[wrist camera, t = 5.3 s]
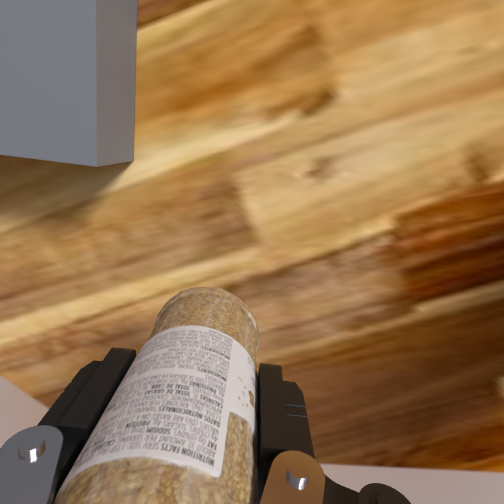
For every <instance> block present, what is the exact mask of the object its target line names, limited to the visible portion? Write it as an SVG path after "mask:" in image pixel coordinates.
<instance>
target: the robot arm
mask: <svg viewBox="0 0 504 504" xmlns="http://www.w3.org/2000/svg"><path fill="white" fill-rule="evenodd" d="M135 357H136V351H135V350H133V349H124V348H114V347H113V348H112V349H111V350H110V351H109V353H108V354H107V355H106V357H105V358H104V360H103V361H93V362H91V363H89V364H88V365H86V366H85V367H83V368H82V369H80V371H79V372H78V373H77V374H76V376H75V377H74V378H73V380H72V382H71V383H70V384H69V385H68V386H67V387H66V389H65V391H64V392H63V393H62V394H61V395H60V396H59V398H58V399H57V400H56V402H55V403H54V404H53V405H52V407H51V408H50V409H49V411H48V412H47V413H46V415H45V416H44V417H43V418H42V420H41V421H40V423H39V424H38V425H37V426H34V427H30V428H27V429H25V430H22V431H20V432H18V433H17V434H15V435H14V436H12V437H11V438H10V439H8V440H7V441H6V442H5V444H4V445H3V446H2V448H1V449H0V504H54V501H55V499H56V496H57V494H58V492H59V490H60V488H61V486H62V484H63V483H64V481H65V479H66V477H67V476H68V474H69V472H70V470H71V469H72V467H73V465H74V463H75V462H76V460H77V458H78V456H79V455H80V453H81V451H82V449H83V448H84V446H85V444H86V442H87V441H88V439H89V437H90V436H91V434H92V432H93V430H94V429H95V427H96V425H97V423H98V422H99V420H100V418H101V416H102V415H103V413H104V411H105V409H106V408H107V406H108V404H109V402H110V401H111V399H112V397H113V395H114V394H115V392H116V390H117V389H118V387H119V385H120V383H121V382H122V380H123V378H124V377H125V375H126V373H127V371H128V370H129V368H130V366H131V364H132V363H133V361H134V359H135ZM257 504H411V503H410V502H409V501H408V500H407V498H406V497H404V495H402V494H401V493H400V492H398V491H397V490H395V489H394V488H392V487H390V486H387V485H384V484H380V483H379V484H378V483H372V484H368V485H366V486H364V487H363V488H362V489H361V491H360V492H359V493H358V492H356V491H354V490H351V489H349V488H346V487H344V486H341V485H339V484H337V483H335V482H334V481H332V480H331V479H329V478H328V477H327V476H326V475H325V474H324V472H323V470H322V468H321V466H320V465H319V463H318V462H317V461H316V460H315V457H314V452H313V446H312V441H311V435H310V430H309V424H308V419H307V413H306V408H305V402H304V397H303V393H302V391H301V390H300V389H299V387H298V386H297V384H296V383H295V382H288V381H283V379H282V370H281V366H280V365H271V364H262V363H260V366H259V372H258V491H257Z"/></svg>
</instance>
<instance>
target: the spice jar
mask: <svg viewBox="0 0 504 504" xmlns="http://www.w3.org/2000/svg"><path fill="white" fill-rule="evenodd" d="M258 344H259V330H258V326H257V322H256V318H255V316H254V315H253V313H252V312H251V310H250V309H249V307H248V306H247V305H246V304H245V303H243V302H242V301H241V300H240V299H239V298H237V297H236V296H234V295H233V294H231V293H229V292H227V291H225V290H223V289H220V288H210V287H196V288H191V289H188V290H185V291H181V292H180V293H178V294H177V295H175V296H174V297H172V298H171V299H170V300H169V301H168V302H167V303H166V304H165V305H164V306H163V308H162V309H161V311H160V313H159V314H158V317H157V320H156V323H155V328H154V330H153V332H152V333H151V335H150V337H149V339H148V340H147V342H146V343H145V344H144V345H143V347H142V348H141V349H140V351H139V352H138V354H137V356H136V357H135V359H134V361H133V363H132V364H131V366H130V368H129V370H128V371H127V373H126V375H125V377H124V378H123V380H122V382H121V383H120V385H119V387H118V389H117V390H116V392H115V394H114V395H113V397H112V399H111V401H110V402H109V404H108V406H107V408H106V409H105V411H104V413H103V415H102V416H101V418H100V420H99V422H98V423H97V425H96V427H95V429H94V430H93V432H92V434H91V436H90V437H89V439H88V441H87V442H86V444H85V446H84V448H83V449H82V451H81V453H80V455H79V456H78V458H77V460H76V462H75V463H74V465H73V467H72V469H71V470H70V472H69V474H68V476H67V477H66V479H65V481H64V483H63V484H62V486H61V488H60V490H59V492H58V494H57V496H56V499H55V501H54V504H257V491H258V375H257V371H256V352H257V349H258Z"/></svg>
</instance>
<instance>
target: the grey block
mask: <svg viewBox="0 0 504 504" xmlns="http://www.w3.org/2000/svg"><path fill="white" fill-rule="evenodd" d="M136 38H137V0H0V155H7V156H15V157H23V158H31V159H39V160H47V161H54V162H62V163H70V164H78V165H86V166H94V167H99V166H105V165H111V164H117V163H124V162H130V161H134V121H135V80H136Z"/></svg>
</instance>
